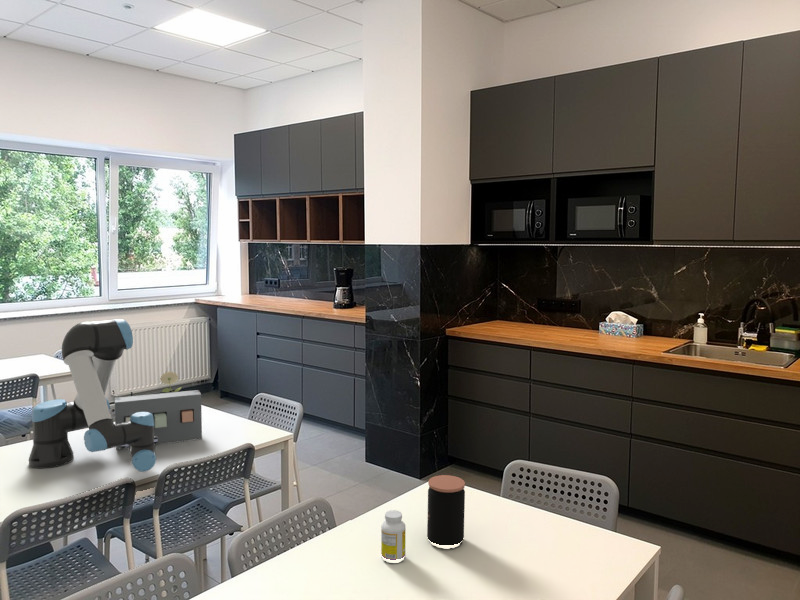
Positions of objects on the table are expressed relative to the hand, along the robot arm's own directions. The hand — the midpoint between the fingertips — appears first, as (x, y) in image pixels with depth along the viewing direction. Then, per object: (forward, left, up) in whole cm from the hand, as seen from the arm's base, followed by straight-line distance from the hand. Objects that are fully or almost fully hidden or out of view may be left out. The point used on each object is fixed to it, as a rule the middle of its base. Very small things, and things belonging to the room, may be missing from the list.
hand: (136, 430), depth 239 cm
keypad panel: (+10, +16, -11) cm, 21 cm away
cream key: (-1, +10, -2) cm, 10 cm away
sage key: (+10, +10, -2) cm, 14 cm away
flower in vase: (+19, +41, -11) cm, 46 cm away
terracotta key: (+21, +13, -2) cm, 25 cm away
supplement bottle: (+59, -114, -11) cm, 129 cm away
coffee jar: (+77, -112, -11) cm, 137 cm away
